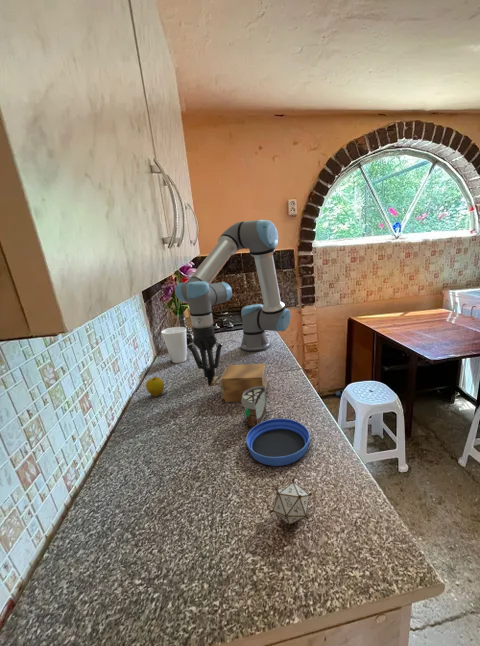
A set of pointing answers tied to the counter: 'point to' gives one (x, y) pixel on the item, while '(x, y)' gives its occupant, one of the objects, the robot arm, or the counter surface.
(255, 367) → the cabinet
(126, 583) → the counter surface
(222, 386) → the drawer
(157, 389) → the apple
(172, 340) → the cup
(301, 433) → the bowl
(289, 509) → the game die
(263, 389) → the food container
